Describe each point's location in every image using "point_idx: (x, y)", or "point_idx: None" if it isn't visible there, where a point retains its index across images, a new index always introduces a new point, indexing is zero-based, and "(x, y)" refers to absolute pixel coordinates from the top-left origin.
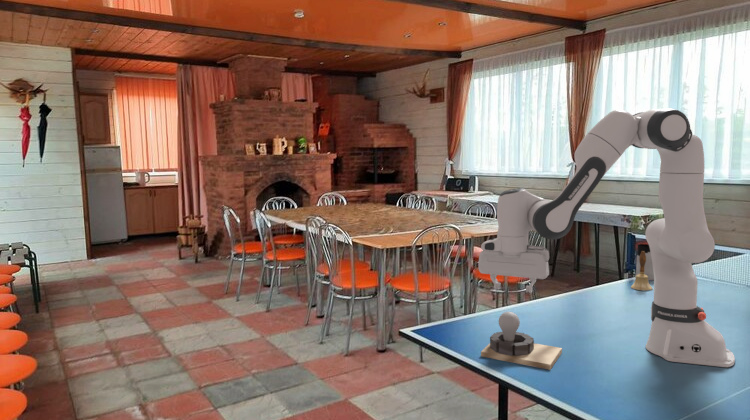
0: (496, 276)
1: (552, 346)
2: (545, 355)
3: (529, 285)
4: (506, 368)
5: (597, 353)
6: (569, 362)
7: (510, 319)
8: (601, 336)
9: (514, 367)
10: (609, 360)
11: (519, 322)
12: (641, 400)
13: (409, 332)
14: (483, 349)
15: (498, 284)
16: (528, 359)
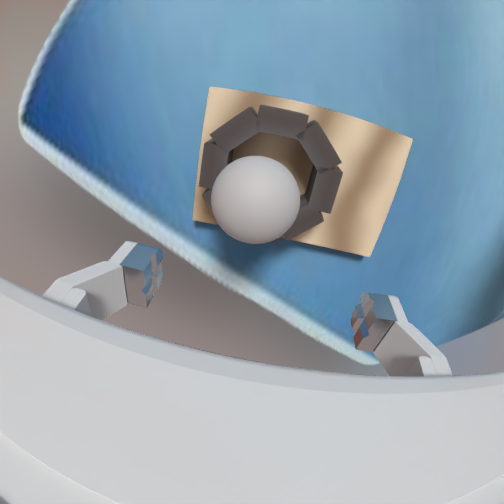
0: (89, 308)
1: (389, 130)
2: (365, 203)
3: (381, 363)
4: (268, 265)
5: (476, 130)
6: (414, 197)
7: (263, 242)
8: (483, 20)
9: (286, 256)
10: (486, 171)
11: (299, 207)
12: (461, 315)
13: (22, 133)
14: (195, 204)
15: (146, 306)
16: (320, 240)
